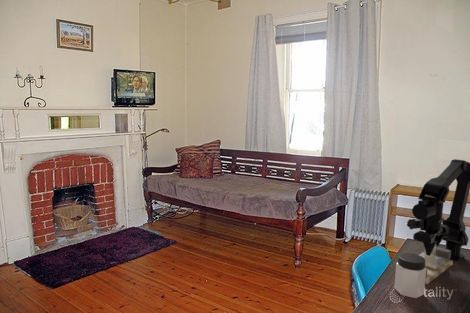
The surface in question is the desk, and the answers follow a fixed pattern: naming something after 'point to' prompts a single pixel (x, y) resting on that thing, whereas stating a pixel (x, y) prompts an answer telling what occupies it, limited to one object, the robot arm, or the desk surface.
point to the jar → (410, 275)
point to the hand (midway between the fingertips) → (429, 254)
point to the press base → (434, 273)
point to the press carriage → (432, 259)
